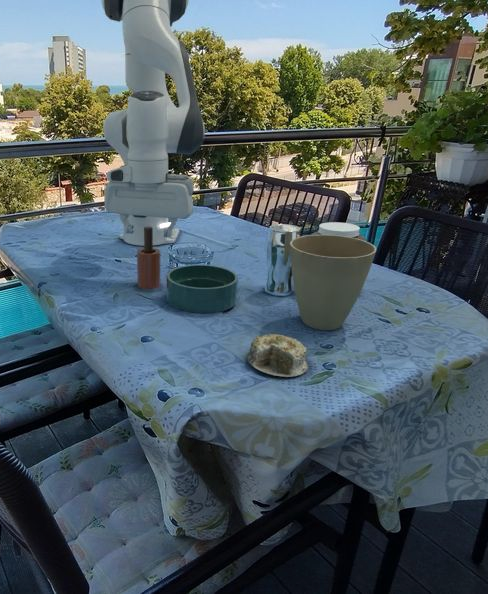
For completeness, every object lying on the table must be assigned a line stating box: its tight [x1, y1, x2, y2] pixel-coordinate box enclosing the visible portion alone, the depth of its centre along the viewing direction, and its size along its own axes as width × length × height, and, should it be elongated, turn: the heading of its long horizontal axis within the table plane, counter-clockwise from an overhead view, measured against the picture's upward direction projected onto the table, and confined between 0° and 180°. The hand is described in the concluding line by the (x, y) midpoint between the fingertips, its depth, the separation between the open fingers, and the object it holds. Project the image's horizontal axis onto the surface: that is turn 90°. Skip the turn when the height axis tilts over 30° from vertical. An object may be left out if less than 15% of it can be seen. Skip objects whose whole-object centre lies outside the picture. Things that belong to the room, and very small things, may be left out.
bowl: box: [166, 264, 239, 314], centre depth 101 cm, size 15×15×6 cm
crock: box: [136, 247, 161, 290], centre depth 109 cm, size 5×5×9 cm
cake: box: [246, 333, 309, 378], centre depth 77 cm, size 10×10×5 cm
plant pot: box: [290, 234, 377, 331], centre depth 89 cm, size 15×15×16 cm
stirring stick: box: [143, 227, 154, 253], centre depth 108 cm, size 2×2×14 cm
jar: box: [310, 221, 367, 242], centre depth 105 cm, size 12×12×15 cm
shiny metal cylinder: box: [264, 223, 301, 297], centre depth 104 cm, size 7×7×15 cm
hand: (148, 234), depth 106 cm, fingers open, 8 cm apart
